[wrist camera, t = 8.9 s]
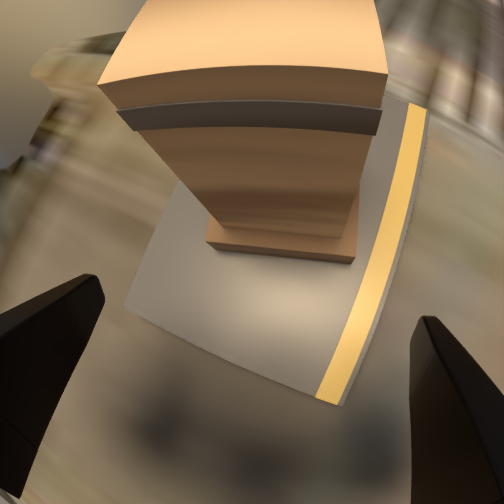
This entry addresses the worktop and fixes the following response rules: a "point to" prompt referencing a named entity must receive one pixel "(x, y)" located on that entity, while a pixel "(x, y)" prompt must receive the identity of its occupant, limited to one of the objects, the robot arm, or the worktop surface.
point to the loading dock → (288, 277)
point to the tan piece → (259, 114)
